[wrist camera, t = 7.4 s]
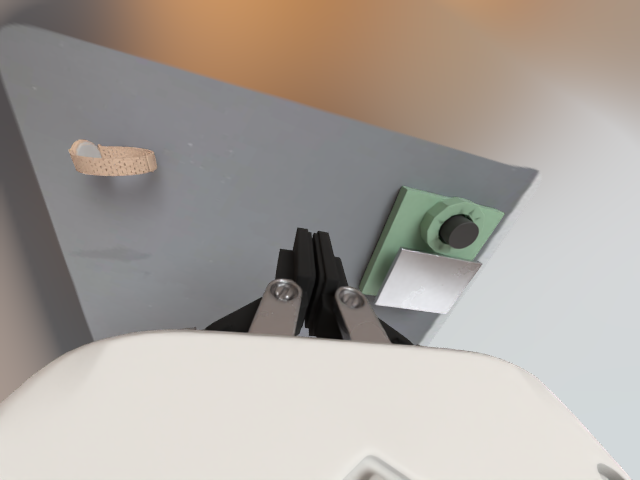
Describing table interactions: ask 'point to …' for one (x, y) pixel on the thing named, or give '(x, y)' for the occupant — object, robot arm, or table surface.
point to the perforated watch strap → (111, 159)
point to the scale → (424, 231)
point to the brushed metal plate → (425, 280)
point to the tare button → (459, 232)
